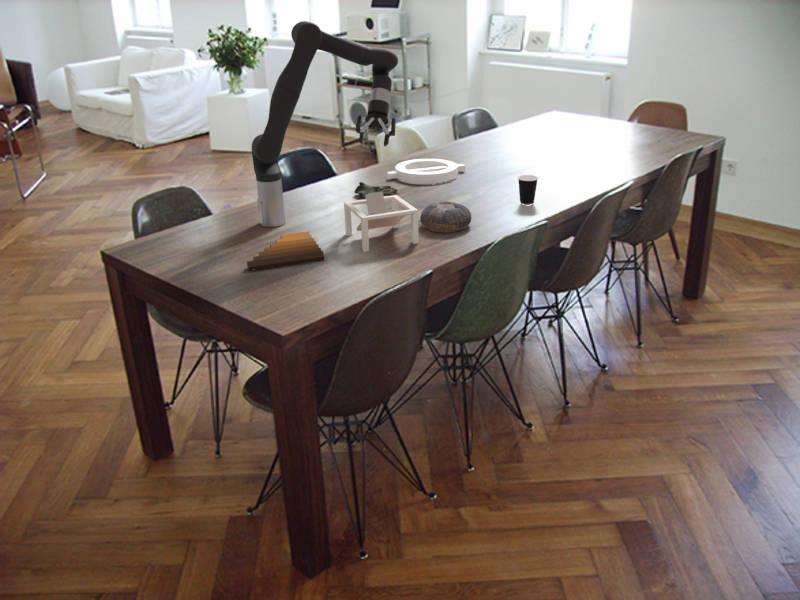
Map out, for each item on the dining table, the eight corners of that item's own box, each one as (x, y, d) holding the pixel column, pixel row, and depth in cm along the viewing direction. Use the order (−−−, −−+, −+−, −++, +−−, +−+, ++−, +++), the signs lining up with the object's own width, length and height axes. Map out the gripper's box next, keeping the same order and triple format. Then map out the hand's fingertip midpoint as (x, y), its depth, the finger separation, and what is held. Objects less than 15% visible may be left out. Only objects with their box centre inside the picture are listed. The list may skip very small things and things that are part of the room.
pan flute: (249, 273, 250) (324, 262, 257) (248, 263, 248) (324, 252, 255) (238, 248, 271) (308, 238, 278) (237, 239, 270) (307, 229, 277)
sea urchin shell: (482, 224, 285) (480, 199, 280) (448, 245, 275) (445, 220, 270) (445, 212, 297) (442, 189, 292) (411, 233, 287) (407, 208, 282)
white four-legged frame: (364, 251, 263) (362, 218, 258) (345, 234, 280) (343, 202, 275) (418, 243, 270) (417, 209, 265) (397, 226, 287) (396, 194, 282)
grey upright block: (374, 221, 272) (369, 193, 271) (370, 223, 276) (365, 195, 276) (387, 219, 273) (382, 191, 273) (383, 221, 278) (378, 193, 278)
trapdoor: (367, 217, 261) (367, 214, 261) (356, 231, 275) (356, 228, 275) (409, 211, 266) (408, 208, 266) (396, 225, 280) (395, 222, 280)
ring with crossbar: (467, 172, 356) (467, 161, 354) (441, 187, 333) (441, 177, 331) (412, 166, 368) (412, 156, 366) (384, 181, 345) (384, 170, 343)
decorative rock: (384, 178, 335) (406, 182, 324) (385, 192, 337) (406, 196, 326) (348, 183, 324) (369, 188, 312) (349, 198, 326) (370, 203, 314)
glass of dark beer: (541, 205, 306) (542, 177, 301) (526, 208, 302) (527, 181, 297) (527, 200, 312) (528, 173, 307) (512, 204, 308) (513, 177, 303)
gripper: (358, 97, 281) (352, 138, 277) (397, 100, 279) (391, 141, 275) (361, 106, 288) (355, 147, 284) (399, 109, 286) (393, 150, 283)
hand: (373, 144), depth 280 cm, fingers open, 8 cm apart
